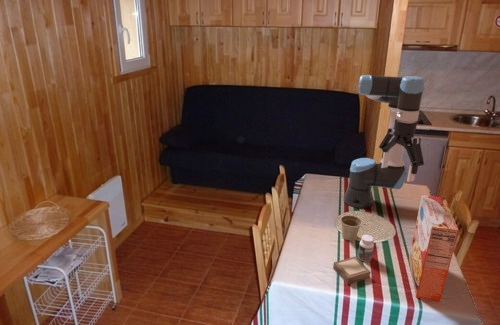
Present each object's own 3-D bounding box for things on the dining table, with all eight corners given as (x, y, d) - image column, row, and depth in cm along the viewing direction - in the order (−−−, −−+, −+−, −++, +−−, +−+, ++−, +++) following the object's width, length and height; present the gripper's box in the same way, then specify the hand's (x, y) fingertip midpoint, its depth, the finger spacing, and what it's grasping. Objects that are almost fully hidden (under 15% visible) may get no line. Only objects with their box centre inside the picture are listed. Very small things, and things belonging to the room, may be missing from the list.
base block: (333, 268, 154) (333, 262, 153) (354, 262, 158) (354, 256, 157) (347, 284, 146) (348, 277, 145) (369, 277, 149) (370, 271, 148)
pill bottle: (355, 253, 163) (358, 234, 159) (368, 253, 164) (371, 233, 160) (360, 262, 158) (363, 242, 154) (373, 261, 158) (377, 241, 154)
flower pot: (360, 233, 177) (363, 217, 174) (359, 244, 169) (361, 228, 166) (339, 229, 180) (341, 213, 177) (337, 240, 172) (339, 224, 168)
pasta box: (408, 259, 160) (422, 195, 148) (429, 262, 158) (444, 197, 146) (416, 297, 140) (432, 226, 128) (440, 301, 138) (458, 230, 126)
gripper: (374, 112, 149) (367, 163, 157) (425, 131, 128) (414, 189, 136) (389, 110, 152) (382, 160, 160) (442, 129, 131) (430, 185, 139)
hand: (396, 173), depth 148 cm, fingers open, 13 cm apart
